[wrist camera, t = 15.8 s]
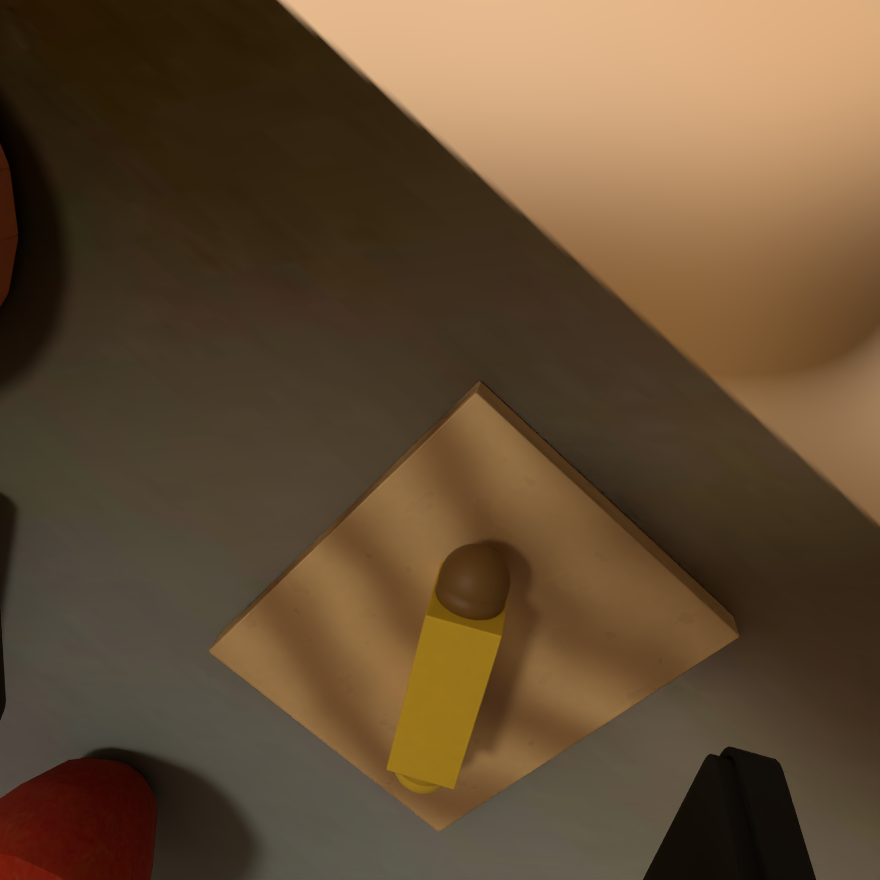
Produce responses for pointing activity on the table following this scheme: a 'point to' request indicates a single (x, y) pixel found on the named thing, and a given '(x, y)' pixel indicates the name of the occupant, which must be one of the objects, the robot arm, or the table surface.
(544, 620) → the board
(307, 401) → the table surface
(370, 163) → the table surface
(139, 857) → the apple
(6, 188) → the terracotta plant saucer
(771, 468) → the table surface
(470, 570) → the yellow bar
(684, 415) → the table surface
